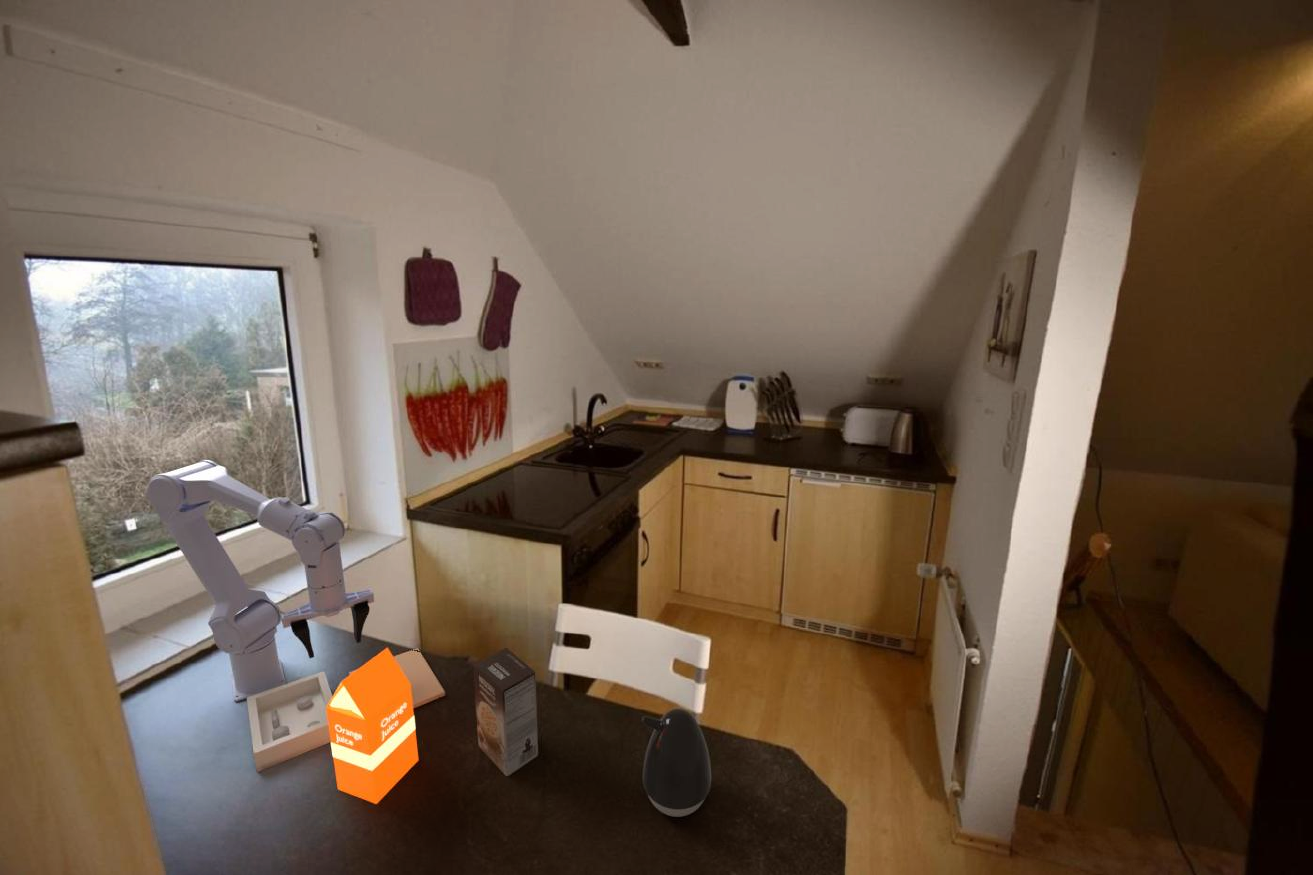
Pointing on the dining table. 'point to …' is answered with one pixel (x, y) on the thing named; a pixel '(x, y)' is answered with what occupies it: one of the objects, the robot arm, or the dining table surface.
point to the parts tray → (289, 720)
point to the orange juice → (372, 728)
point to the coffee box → (506, 710)
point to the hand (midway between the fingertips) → (335, 647)
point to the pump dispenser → (676, 764)
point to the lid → (419, 677)
